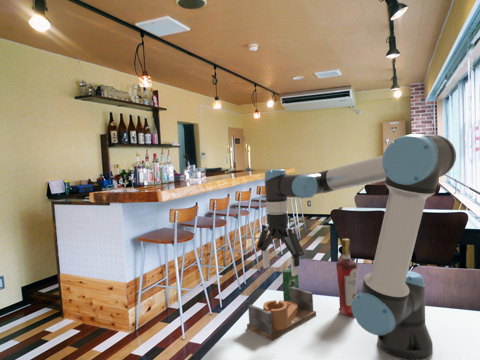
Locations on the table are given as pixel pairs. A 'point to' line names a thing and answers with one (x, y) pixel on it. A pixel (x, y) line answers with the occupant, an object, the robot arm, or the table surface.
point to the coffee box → (289, 283)
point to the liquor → (346, 280)
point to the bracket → (281, 313)
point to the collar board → (263, 319)
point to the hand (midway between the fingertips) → (280, 271)
